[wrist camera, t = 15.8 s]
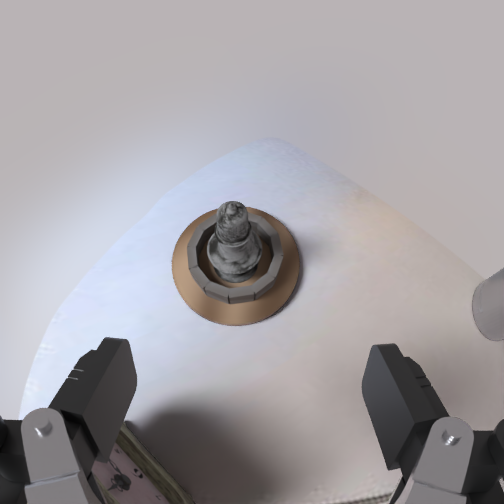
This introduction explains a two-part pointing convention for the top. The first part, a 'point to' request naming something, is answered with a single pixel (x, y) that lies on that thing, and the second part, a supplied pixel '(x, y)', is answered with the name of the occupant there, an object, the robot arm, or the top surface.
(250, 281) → the socket stand
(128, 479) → the tabletop clock
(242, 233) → the grey tall piece
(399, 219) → the top surface
